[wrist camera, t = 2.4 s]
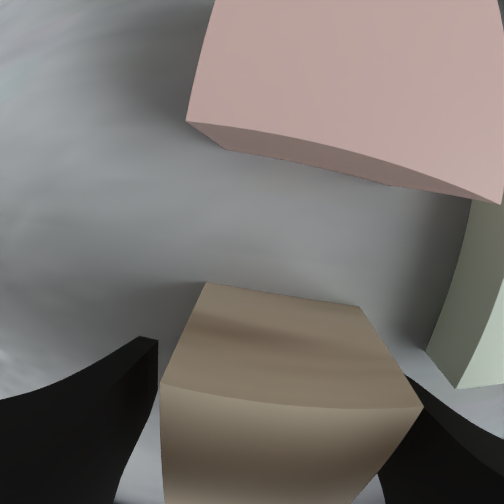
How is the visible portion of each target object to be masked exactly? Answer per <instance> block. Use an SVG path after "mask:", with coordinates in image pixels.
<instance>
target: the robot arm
mask: <svg viewBox="0 0 504 504" xmlns="http://www.w3.org/2000/svg"><path fill="white" fill-rule="evenodd" d="M404 375H405V374H404ZM405 377H406V378H407V380H408V381H409V383H410V385H411V386H412V388H413V390H414V391H415V393H416V394H417V396H418V398H419V399H420V401H421V403H422V404H423V406H424V408H423V409H422V411H421V412H420V414H419V416H418V417H417V419H416V420H415V422H414V423H413V425H412V426H411V428H410V429H409V431H408V432H407V434H406V435H405V437H404V438H403V440H402V441H401V442H400V444H399V445H398V447H397V448H396V449H395V451H394V452H393V453H392V455H391V456H390V457H389V459H388V460H387V461H386V462H385V464H384V465H383V466H382V468H381V469H380V470H379V471H378V472H377V474H378V477H379V480H380V483H381V486H382V490H383V494H384V498H385V503H386V504H504V440H503V439H501V438H499V437H497V436H495V435H493V434H491V433H489V432H487V431H485V430H483V429H482V428H480V427H478V426H476V425H475V424H473V423H471V422H470V421H468V420H467V419H465V418H464V417H462V416H461V415H459V414H458V413H456V412H455V411H454V410H452V409H451V408H449V407H448V406H447V405H445V404H444V403H443V402H441V401H440V400H439V399H437V398H436V397H435V396H433V395H432V394H431V393H430V392H428V391H427V390H426V389H424V388H423V387H422V386H420V385H419V384H418V383H416V382H415V381H414V380H412V379H411V378H409V377H408V376H406V375H405ZM157 391H158V340H155V339H150V338H146V337H142V336H139V337H137V338H135V339H134V340H132V341H130V342H129V343H127V344H126V345H124V346H122V347H121V348H119V349H118V350H116V351H114V352H113V353H111V354H109V355H108V356H106V357H104V358H103V359H101V360H99V361H98V362H96V363H94V364H92V365H91V366H89V367H87V368H85V369H83V370H81V371H79V372H77V373H75V374H73V375H71V376H69V377H67V378H65V379H63V380H61V381H58V382H56V383H54V384H51V385H49V386H46V387H43V388H40V389H38V390H35V391H32V392H29V393H25V394H21V395H17V396H14V397H10V398H6V399H2V400H0V504H113V501H114V498H115V495H116V491H117V488H118V485H119V482H120V479H121V476H122V474H123V471H124V469H125V466H126V464H127V462H128V460H129V458H130V456H131V454H132V451H133V449H134V447H135V445H136V443H137V441H138V439H139V437H140V435H141V433H142V430H143V428H144V426H145V424H146V422H147V420H148V418H149V415H150V412H151V409H152V406H153V403H154V400H155V397H156V394H157Z"/></svg>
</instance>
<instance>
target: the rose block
mask: <svg viewBox="0 0 504 504" xmlns="http://www.w3.org/2000/svg"><path fill="white" fill-rule="evenodd" d="M186 122H188V123H189V124H190V125H192V126H193V127H195V128H196V129H198V130H199V131H200V132H202V133H203V134H205V135H206V136H207V137H209V138H210V139H212V140H213V141H214V142H216V143H217V144H219V145H220V146H221V147H223V148H224V149H225V150H229V151H235V152H242V153H248V154H254V155H259V156H265V157H270V158H276V159H281V160H286V161H291V162H296V163H301V164H305V165H310V166H314V167H319V168H323V169H328V170H332V171H336V172H340V173H344V174H348V175H352V176H356V177H360V178H364V179H368V180H371V181H375V182H379V183H382V184H386V185H389V186H396V187H403V188H410V189H417V190H423V191H430V192H436V193H442V194H448V195H453V196H459V197H464V198H469V199H474V200H479V201H484V202H489V203H494V204H498V205H501V202H502V196H503V190H504V32H503V26H502V21H501V16H500V11H499V6H498V2H497V0H215V3H214V7H213V10H212V13H211V17H210V20H209V24H208V27H207V31H206V35H205V38H204V42H203V46H202V50H201V54H200V58H199V62H198V66H197V70H196V74H195V78H194V83H193V87H192V92H191V96H190V101H189V106H188V111H187V116H186Z"/></svg>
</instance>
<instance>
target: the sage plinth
mask: <svg viewBox="0 0 504 504" xmlns="http://www.w3.org/2000/svg"><path fill="white" fill-rule="evenodd" d="M425 352H426V353H427V354H428V356H429V357H430V358H431V359H432V361H433V362H434V363H435V364H436V366H437V367H438V368H439V369H440V371H441V372H442V373H443V374H444V376H445V377H446V378H447V380H448V381H449V382H450V383H451V385H452V386H453V387H454V389H465V388H474V387H481V386H489V385H496V384H502V383H504V190H503V196H502V202H501V205H498V204H494V203H489V202H484V201H479V200H474V199H472V203H471V208H470V213H469V218H468V222H467V227H466V231H465V235H464V239H463V243H462V247H461V251H460V255H459V258H458V262H457V265H456V269H455V272H454V275H453V279H452V282H451V285H450V288H449V291H448V294H447V297H446V300H445V302H444V305H443V308H442V311H441V313H440V316H439V319H438V321H437V324H436V326H435V329H434V331H433V334H432V336H431V338H430V341H429V343H428V345H427V348H426V350H425Z"/></svg>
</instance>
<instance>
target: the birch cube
mask: <svg viewBox="0 0 504 504" xmlns="http://www.w3.org/2000/svg"><path fill="white" fill-rule="evenodd" d="M423 408H424V406H423V404H422V403H421V401H420V399H419V398H418V396H417V394H416V393H415V391H414V390H413V388H412V386H411V385H410V383H409V381H408V380H407V378H406V377H405V375H404V374H403V372H402V370H401V369H400V367H399V366H398V364H397V363H396V361H395V359H394V358H393V356H392V355H391V353H390V352H389V350H388V349H387V347H386V346H385V344H384V343H383V341H382V340H381V338H380V337H379V335H378V334H377V332H376V331H375V329H374V328H373V326H372V325H371V323H370V322H369V320H368V319H367V317H366V316H365V314H364V313H363V311H362V310H361V309H360V307H358V306H351V305H344V304H337V303H330V302H323V301H317V300H310V299H304V298H297V297H291V296H285V295H279V294H273V293H267V292H261V291H255V290H249V289H243V288H237V287H232V286H226V285H221V284H215V283H210V282H206V283H205V285H204V287H203V290H202V292H201V294H200V296H199V298H198V300H197V302H196V304H195V307H194V309H193V311H192V313H191V315H190V317H189V319H188V322H187V324H186V326H185V328H184V330H183V332H182V335H181V337H180V339H179V341H178V343H177V346H176V348H175V350H174V352H173V354H172V357H171V359H170V361H169V363H168V365H167V368H166V370H165V372H164V374H163V377H162V379H161V381H160V439H161V459H162V475H163V488H164V499H165V503H167V504H350V503H351V502H352V501H353V500H354V499H355V498H356V497H357V496H358V494H359V493H360V492H361V491H362V490H363V489H364V488H365V487H366V485H367V484H368V483H369V482H370V481H371V480H372V478H373V477H374V476H375V475H376V474H377V472H378V471H379V470H380V469H381V468H382V466H383V465H384V464H385V462H386V461H387V460H388V459H389V457H390V456H391V455H392V453H393V452H394V451H395V449H396V448H397V447H398V445H399V444H400V442H401V441H402V440H403V438H404V437H405V435H406V434H407V432H408V431H409V429H410V428H411V426H412V425H413V423H414V422H415V420H416V419H417V417H418V416H419V414H420V412H421V411H422V409H423Z"/></svg>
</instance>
